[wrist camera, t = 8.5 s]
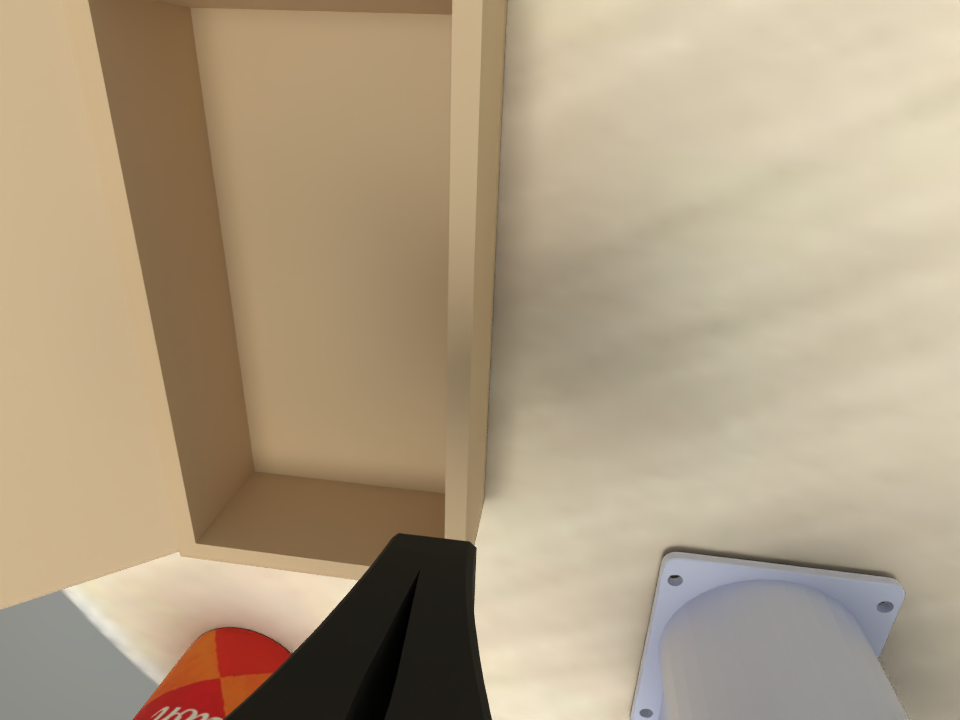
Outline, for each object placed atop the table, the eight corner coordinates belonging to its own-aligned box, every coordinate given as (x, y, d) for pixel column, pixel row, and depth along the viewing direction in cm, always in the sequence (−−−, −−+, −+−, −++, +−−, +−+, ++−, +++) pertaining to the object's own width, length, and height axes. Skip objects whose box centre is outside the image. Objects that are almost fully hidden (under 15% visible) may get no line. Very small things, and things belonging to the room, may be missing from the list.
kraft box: (484, 501, 23) (463, 594, 18) (248, 473, 24) (180, 556, 19) (507, -8, 16) (484, -39, 12) (178, -16, 17) (51, -47, 13)
